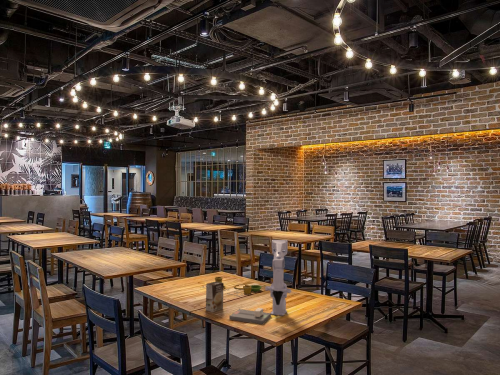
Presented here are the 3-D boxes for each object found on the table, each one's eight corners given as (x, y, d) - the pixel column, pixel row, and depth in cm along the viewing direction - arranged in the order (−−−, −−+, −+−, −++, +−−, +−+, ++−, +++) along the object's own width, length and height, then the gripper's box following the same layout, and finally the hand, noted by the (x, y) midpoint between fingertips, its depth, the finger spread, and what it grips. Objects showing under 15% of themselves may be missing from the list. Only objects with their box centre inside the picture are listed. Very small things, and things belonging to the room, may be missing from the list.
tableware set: (200, 287, 293) (200, 279, 293) (226, 281, 314) (226, 273, 314) (239, 298, 266) (239, 289, 266) (265, 291, 286) (265, 282, 286)
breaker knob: (254, 316, 219) (254, 310, 219) (258, 313, 224) (258, 307, 224) (259, 317, 217) (259, 311, 218) (263, 314, 223) (263, 308, 223)
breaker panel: (229, 319, 220) (229, 315, 220) (239, 312, 233) (239, 308, 233) (262, 324, 212) (262, 320, 212) (271, 316, 225) (271, 313, 226)
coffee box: (212, 312, 232) (213, 285, 232) (205, 310, 236) (205, 283, 236) (223, 308, 239) (223, 282, 240) (216, 306, 243) (216, 281, 244)
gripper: (263, 280, 217) (263, 304, 217) (288, 282, 212) (288, 308, 211) (267, 277, 223) (267, 301, 223) (292, 280, 218) (292, 304, 218)
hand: (277, 304), depth 218 cm, fingers closed
